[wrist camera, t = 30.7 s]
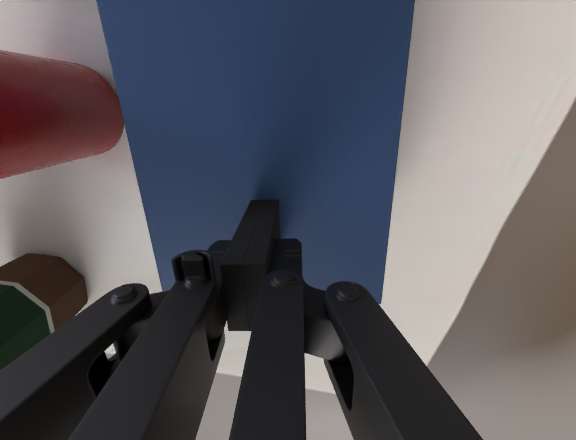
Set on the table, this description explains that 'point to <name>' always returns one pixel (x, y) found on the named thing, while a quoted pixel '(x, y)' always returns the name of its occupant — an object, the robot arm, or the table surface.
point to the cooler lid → (265, 122)
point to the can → (53, 113)
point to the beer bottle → (36, 301)
